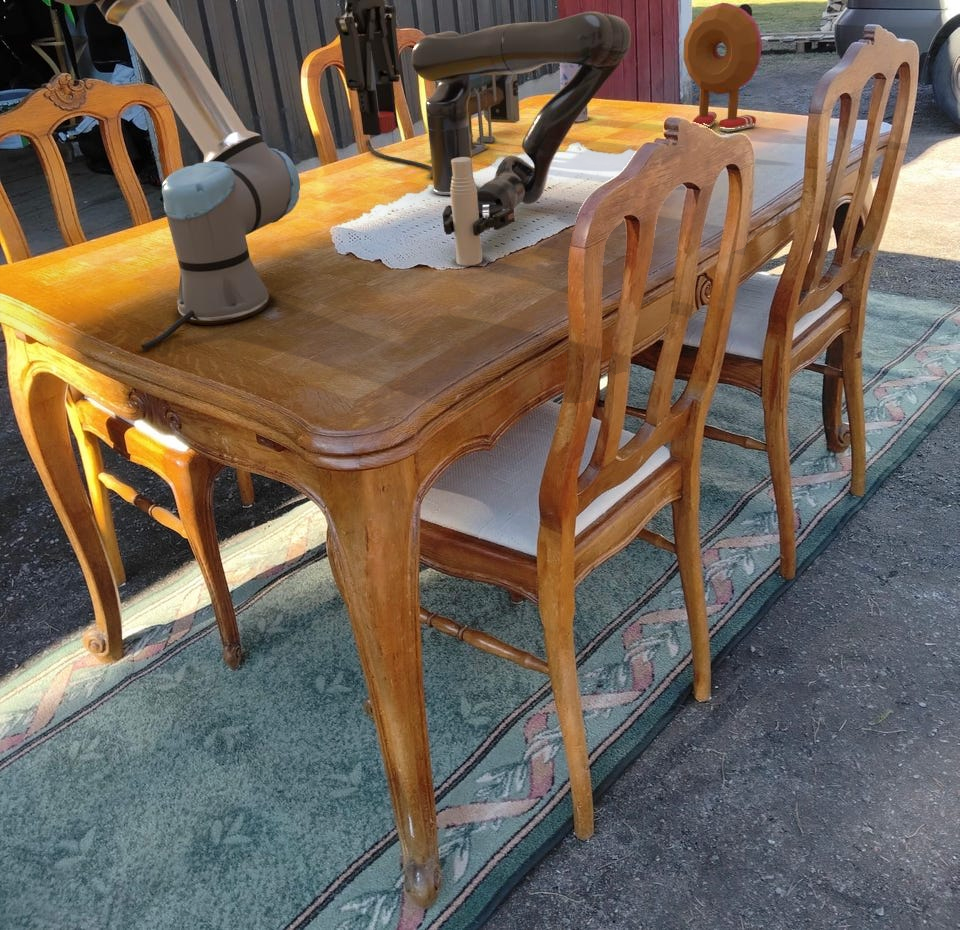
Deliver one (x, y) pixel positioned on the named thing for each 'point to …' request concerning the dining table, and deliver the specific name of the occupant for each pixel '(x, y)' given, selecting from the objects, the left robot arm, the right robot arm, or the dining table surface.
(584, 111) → the aerosol can
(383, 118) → the cap
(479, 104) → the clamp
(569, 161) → the dining table surface
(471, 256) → the bottle
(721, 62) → the toy
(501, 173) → the right robot arm
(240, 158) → the left robot arm
